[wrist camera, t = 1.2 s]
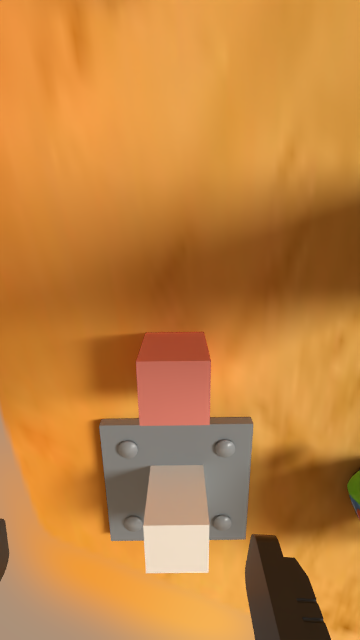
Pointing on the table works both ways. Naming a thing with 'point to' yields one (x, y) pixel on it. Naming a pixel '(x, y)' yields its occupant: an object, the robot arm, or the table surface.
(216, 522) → the base plate
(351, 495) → the snack cup
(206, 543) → the cream brick
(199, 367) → the red brick
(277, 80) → the table surface
